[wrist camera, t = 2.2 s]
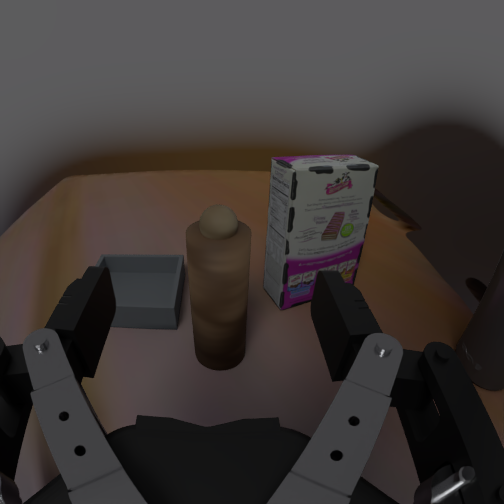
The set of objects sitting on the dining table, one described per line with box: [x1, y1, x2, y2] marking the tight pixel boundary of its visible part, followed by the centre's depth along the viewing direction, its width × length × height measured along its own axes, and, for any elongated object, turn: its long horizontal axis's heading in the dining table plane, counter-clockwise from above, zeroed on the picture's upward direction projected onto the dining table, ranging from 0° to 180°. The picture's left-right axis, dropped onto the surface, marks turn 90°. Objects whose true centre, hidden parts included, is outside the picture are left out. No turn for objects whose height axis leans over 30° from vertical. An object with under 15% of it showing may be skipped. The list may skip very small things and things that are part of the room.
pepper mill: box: [186, 205, 251, 370], centre depth 26 cm, size 5×5×15 cm
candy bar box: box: [263, 155, 379, 310], centre depth 35 cm, size 11×5×16 cm, turn 115°
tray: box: [95, 255, 185, 329], centre depth 35 cm, size 11×10×3 cm
